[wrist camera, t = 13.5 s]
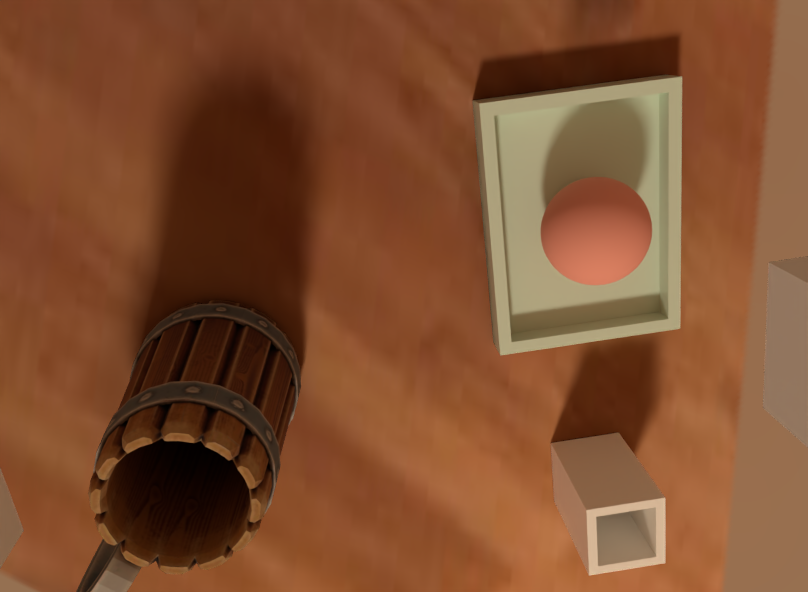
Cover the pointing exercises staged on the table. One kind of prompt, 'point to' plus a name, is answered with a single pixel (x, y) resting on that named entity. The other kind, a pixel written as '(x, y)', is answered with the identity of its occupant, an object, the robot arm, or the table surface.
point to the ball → (596, 231)
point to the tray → (555, 169)
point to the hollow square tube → (608, 504)
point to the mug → (192, 444)
